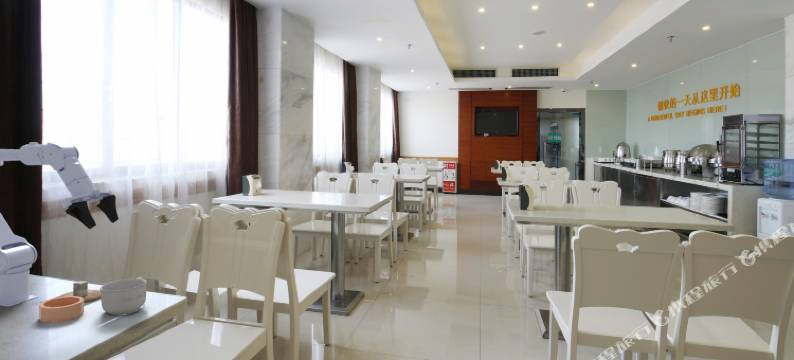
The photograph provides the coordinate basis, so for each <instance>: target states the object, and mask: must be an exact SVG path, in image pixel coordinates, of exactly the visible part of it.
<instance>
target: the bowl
mask: <svg viewBox="0 0 794 360" xmlns="http://www.w3.org/2000/svg"><path fill="white" fill-rule="evenodd" d="M57 297H58V296H57ZM41 302H42V303H39V304H38V319H39V321H40V322H42V323H61V322H66V321H70V320H73V319H77V318H79V317H81V316H82V315H83V314H84V312H85V306H84V299H83V298H82V297H78V296H65V297H58V298H55V297H53V299H52V298H49V299H46V300H43V301H41Z"/></svg>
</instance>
